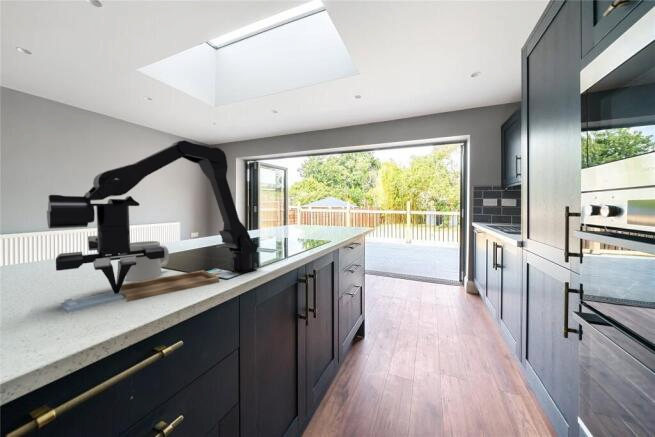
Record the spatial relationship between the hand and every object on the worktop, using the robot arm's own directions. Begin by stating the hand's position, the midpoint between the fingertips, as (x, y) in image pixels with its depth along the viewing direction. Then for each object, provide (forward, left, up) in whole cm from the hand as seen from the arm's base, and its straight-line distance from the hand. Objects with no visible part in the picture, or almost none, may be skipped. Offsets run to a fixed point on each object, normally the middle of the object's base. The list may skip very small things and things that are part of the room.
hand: (116, 292), depth 60 cm
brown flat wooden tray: (-11, 0, -2) cm, 11 cm away
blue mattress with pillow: (+4, +1, -2) cm, 5 cm away
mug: (-9, -16, -2) cm, 19 cm away
